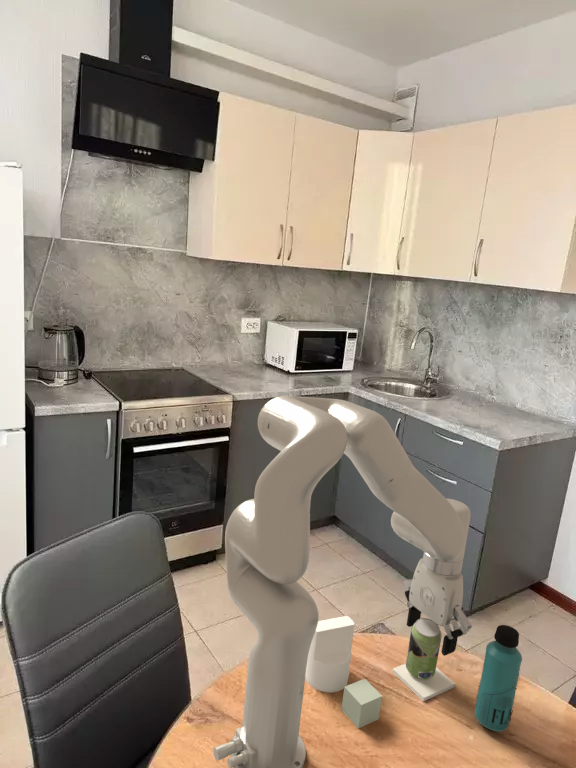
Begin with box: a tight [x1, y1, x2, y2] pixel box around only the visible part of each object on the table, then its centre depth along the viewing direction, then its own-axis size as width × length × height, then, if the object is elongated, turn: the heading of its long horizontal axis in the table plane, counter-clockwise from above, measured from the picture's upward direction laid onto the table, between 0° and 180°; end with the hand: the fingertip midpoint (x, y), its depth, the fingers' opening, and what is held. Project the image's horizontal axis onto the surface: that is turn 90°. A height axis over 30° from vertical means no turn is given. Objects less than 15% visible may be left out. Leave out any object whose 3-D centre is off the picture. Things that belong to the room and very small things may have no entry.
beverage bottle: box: [474, 624, 523, 732], centre depth 103 cm, size 6×7×20 cm
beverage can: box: [405, 617, 443, 680], centre depth 114 cm, size 6×7×12 cm
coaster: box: [392, 663, 456, 702], centre depth 115 cm, size 9×9×1 cm
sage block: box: [341, 678, 383, 729], centre depth 104 cm, size 5×5×5 cm
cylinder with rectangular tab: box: [305, 615, 355, 693], centre depth 112 cm, size 9×9×12 cm
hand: (429, 638), depth 113 cm, fingers open, 9 cm apart
